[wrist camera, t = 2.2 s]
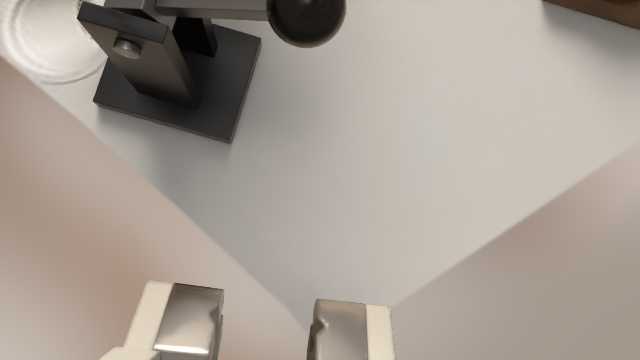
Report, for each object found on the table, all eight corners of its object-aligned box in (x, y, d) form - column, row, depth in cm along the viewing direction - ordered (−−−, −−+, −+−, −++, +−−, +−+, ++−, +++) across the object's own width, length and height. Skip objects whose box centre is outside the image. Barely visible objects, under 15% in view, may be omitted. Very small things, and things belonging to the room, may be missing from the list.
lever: (366, -7, 26) (336, -55, 23) (346, 64, 26) (313, 25, 23) (157, -11, 33) (111, -49, 29) (137, 46, 32) (88, 14, 29)
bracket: (261, 43, 43) (255, -58, 29) (230, 144, 42) (209, 87, 28) (132, 5, 42) (64, -115, 29) (97, 105, 41) (9, 30, 28)
